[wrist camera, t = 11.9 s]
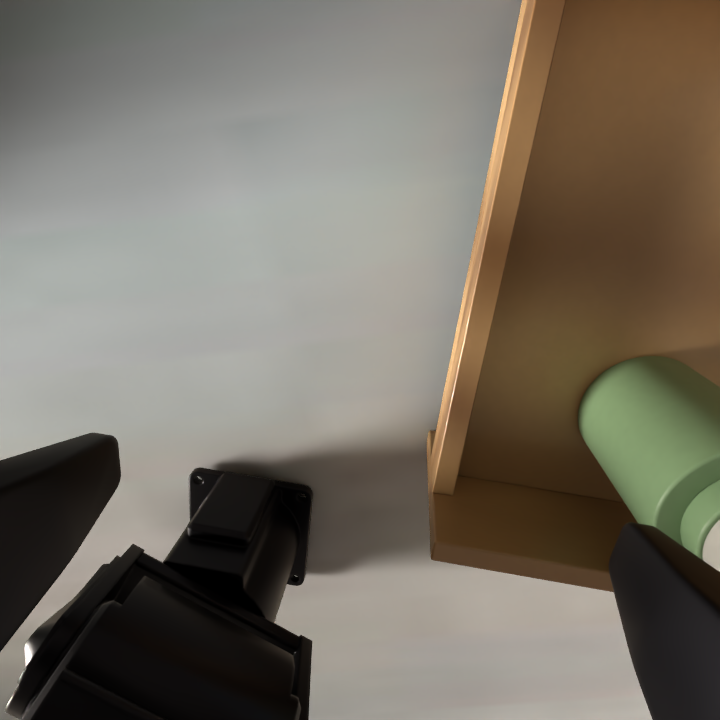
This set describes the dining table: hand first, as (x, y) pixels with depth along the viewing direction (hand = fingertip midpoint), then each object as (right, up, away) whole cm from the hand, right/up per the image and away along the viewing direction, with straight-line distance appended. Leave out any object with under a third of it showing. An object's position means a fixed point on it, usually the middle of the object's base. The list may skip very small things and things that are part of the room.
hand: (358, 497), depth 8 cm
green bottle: (+10, +1, +9) cm, 14 cm away
